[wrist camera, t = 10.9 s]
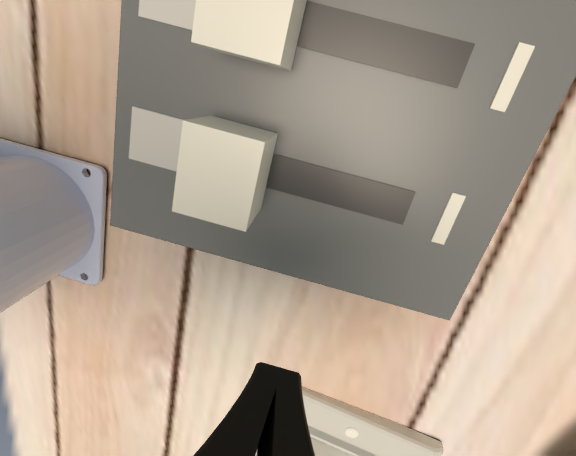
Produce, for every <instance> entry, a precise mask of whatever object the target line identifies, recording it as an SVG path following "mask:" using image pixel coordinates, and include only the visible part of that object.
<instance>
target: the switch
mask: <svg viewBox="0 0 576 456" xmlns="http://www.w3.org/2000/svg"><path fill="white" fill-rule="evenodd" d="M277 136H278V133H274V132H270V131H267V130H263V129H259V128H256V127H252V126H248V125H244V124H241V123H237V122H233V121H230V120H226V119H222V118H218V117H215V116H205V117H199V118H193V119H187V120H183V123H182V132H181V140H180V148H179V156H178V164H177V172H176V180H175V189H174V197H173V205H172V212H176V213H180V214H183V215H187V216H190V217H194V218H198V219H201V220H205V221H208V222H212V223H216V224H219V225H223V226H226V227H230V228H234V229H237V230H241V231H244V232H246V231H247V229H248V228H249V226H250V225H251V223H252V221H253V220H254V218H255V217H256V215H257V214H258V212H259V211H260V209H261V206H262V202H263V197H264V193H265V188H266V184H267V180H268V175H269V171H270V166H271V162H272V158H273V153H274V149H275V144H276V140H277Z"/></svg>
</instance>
